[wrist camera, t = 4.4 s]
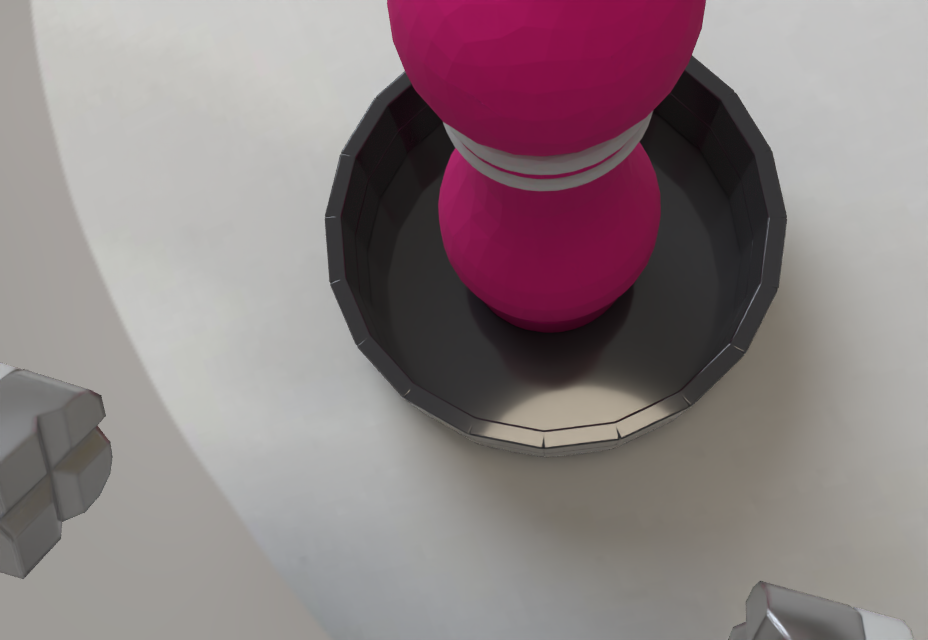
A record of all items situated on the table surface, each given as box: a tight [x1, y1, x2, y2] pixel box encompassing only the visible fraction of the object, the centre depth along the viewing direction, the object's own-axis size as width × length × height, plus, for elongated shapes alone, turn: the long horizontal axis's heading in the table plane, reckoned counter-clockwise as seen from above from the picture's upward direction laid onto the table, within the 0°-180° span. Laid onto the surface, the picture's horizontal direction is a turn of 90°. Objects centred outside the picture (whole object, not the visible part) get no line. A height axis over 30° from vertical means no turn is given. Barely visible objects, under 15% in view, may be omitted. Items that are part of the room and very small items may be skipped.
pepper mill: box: [387, 0, 706, 333], centre depth 21 cm, size 7×7×20 cm
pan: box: [325, 56, 787, 457], centre depth 29 cm, size 15×15×4 cm
